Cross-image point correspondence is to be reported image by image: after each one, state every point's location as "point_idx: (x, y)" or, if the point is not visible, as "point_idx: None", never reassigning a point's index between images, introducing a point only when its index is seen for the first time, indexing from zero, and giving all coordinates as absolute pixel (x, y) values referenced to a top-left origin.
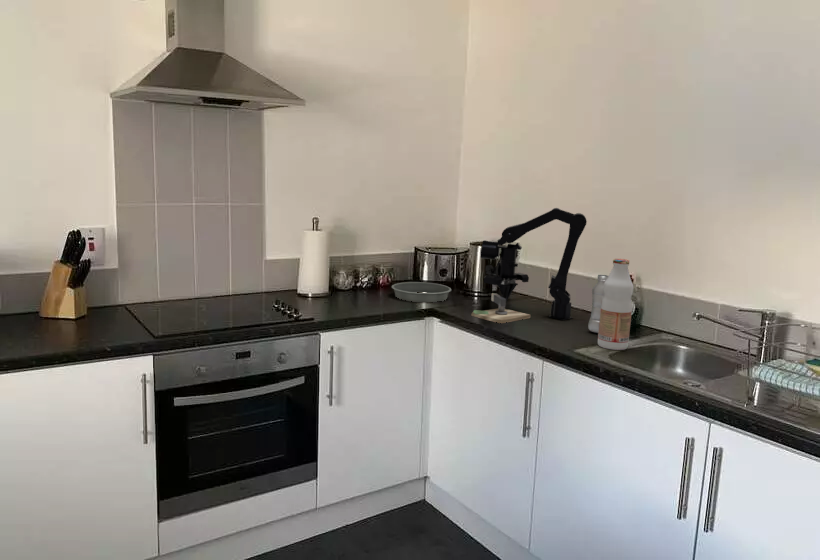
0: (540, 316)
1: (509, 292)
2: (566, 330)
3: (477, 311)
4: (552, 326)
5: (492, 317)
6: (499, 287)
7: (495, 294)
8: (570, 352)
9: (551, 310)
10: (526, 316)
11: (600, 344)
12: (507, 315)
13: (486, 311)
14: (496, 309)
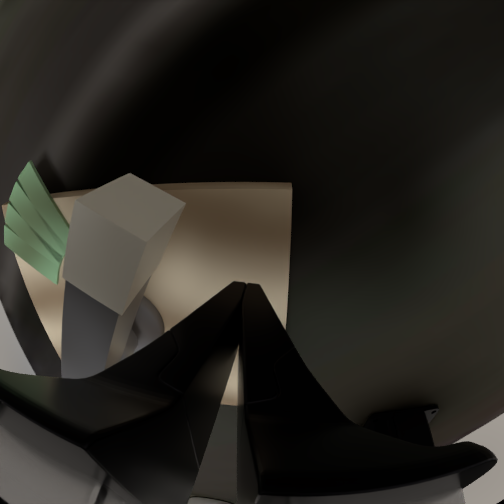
0: (362, 394)
1: (237, 423)
2: (234, 474)
3: (24, 209)
4: (236, 457)
5: (51, 329)
6: (96, 380)
7: (86, 284)
8: None
9: (398, 432)
10: None
11: (188, 500)
12: None
13: (65, 237)
14: (188, 213)
